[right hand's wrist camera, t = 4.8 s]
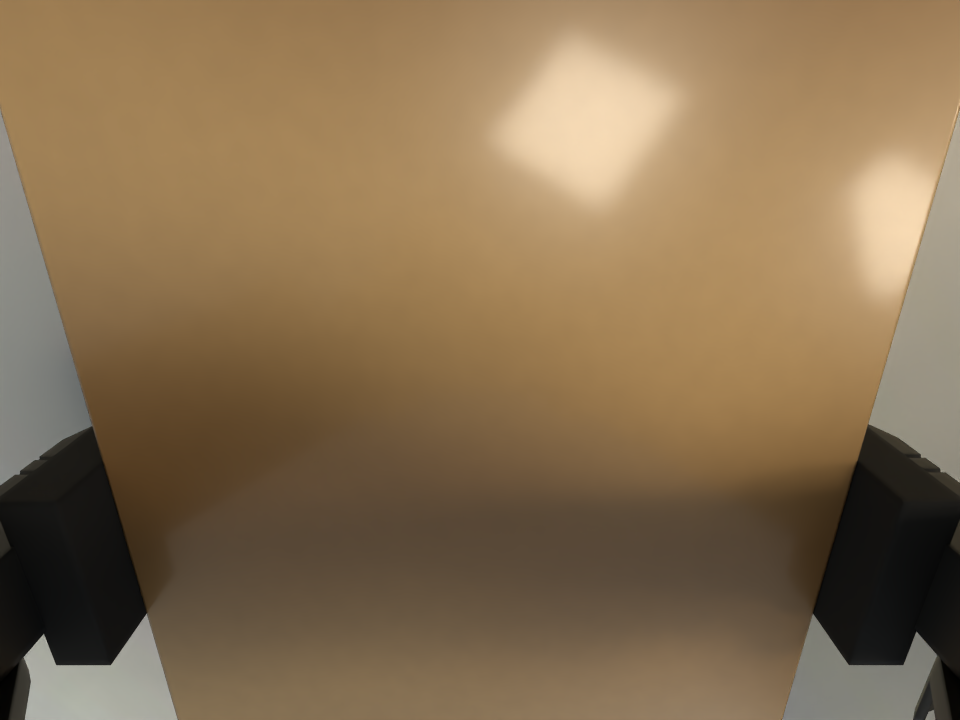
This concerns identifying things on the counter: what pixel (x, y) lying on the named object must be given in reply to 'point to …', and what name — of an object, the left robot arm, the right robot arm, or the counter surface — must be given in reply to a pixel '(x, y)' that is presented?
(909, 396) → the counter surface
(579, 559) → the thick board
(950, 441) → the counter surface
